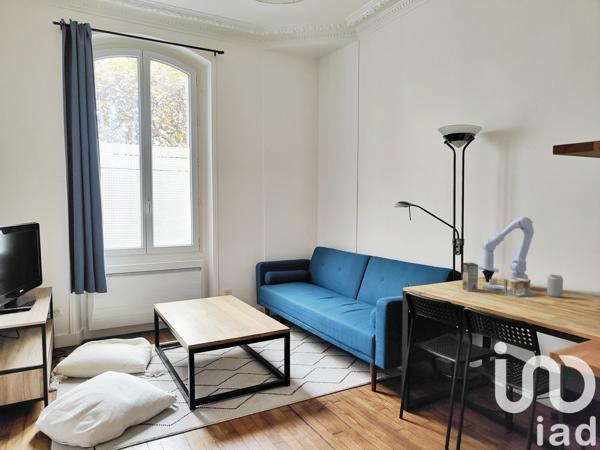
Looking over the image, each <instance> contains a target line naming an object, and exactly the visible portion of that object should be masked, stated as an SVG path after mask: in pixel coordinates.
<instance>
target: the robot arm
mask: <svg viewBox="0 0 600 450" xmlns="http://www.w3.org/2000/svg"><path fill="white" fill-rule="evenodd" d="M533 223H534V222H533V221H532V220H531V218H529V217H527V216H526V217H525V216H524V217H523V216H518V217H516V218H515V219H513V220H512V221H511V223H509V224H508V225H507V226H506V227H505V228H504V229H503V230H502V231H501V232H497V233H494V234H493V236H492V237H490V239H489V238H488V240H487V241H485V242H484V243H483V245H482V249H483V266H482V265H478V270H482V274H483V276H484V279H485V282H486V283H489V279H492V277H493V276H494V274H495V273H500V272H499V271H500V270H499V268H495V267H494V260H495V254H494V253H495V250H496V247H497V246H499V245H501V243H502V242H504V240H505V237H506V236H507V235H509V234H510V233H511V232H513V231H514V230H515V229H520V230H521V232H522V233H523V234H522V238H521V239H520V240H521V241H520V244H519V247H518V251H517V253H516V255H515V258H514V259H513V260H512V262H511V263H510V264H509V269H510V270H511V271H510V272H511V273H510V275H511V278H510V279H513V278H523V279H528V280H529V276H528V274H527V273H526V271H527V260H526V258H527V256H528V253H529V250H530V245H531V242H532V241H533V240H532V239H533V236H534V232H535V230H534V226H533ZM509 286H510V287H511V285H509Z"/></svg>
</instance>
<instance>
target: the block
mask: <svg viewBox="0 0 600 450" xmlns="http://www.w3.org/2000/svg"><path fill="white" fill-rule="evenodd" d="M510 286H511V289H512V290H513V282H510ZM518 289H523V283H522V282H516V290H517V291H518Z"/></svg>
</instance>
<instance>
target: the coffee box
mask: <svg viewBox="0 0 600 450" xmlns="http://www.w3.org/2000/svg"><path fill="white" fill-rule="evenodd" d="M478 283H479V264H477V263H474V262H462V287H461V288H462V289H463V290H465V291H467V292H478V287H479V285H478Z"/></svg>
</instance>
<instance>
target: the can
mask: <svg viewBox="0 0 600 450" xmlns="http://www.w3.org/2000/svg"><path fill="white" fill-rule="evenodd" d="M562 276H563V275H561V274H560V275H559V274H548V276H547V283H546V284H547V285H546V286H547V288H546V292H547V293H546V294H547V296H548V297H552V298H561V297H563V295H564V294H563V291H564V288H563V284H564V278H563V277H562Z"/></svg>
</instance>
